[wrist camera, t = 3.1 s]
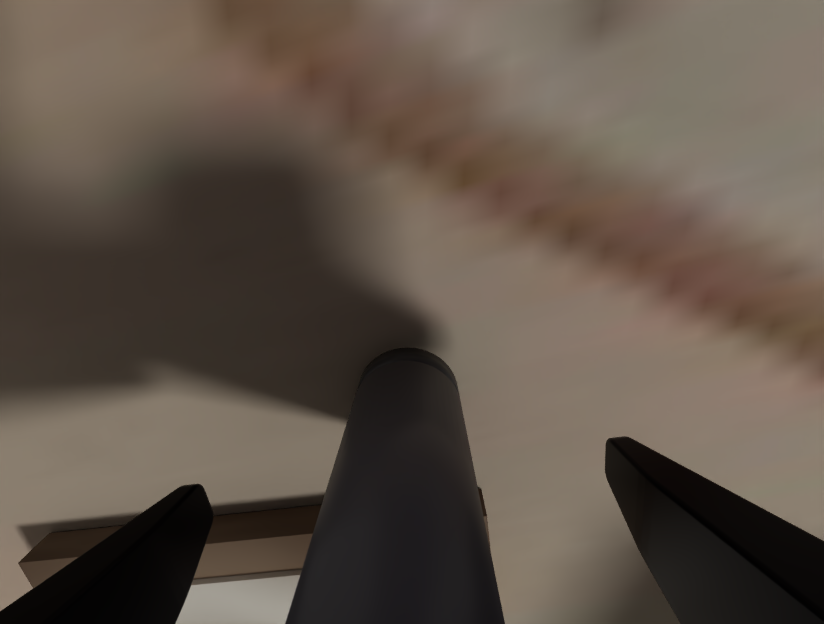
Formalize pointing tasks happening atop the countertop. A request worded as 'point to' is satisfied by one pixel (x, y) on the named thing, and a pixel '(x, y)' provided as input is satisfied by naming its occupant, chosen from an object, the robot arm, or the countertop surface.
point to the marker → (401, 509)
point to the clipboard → (219, 564)
